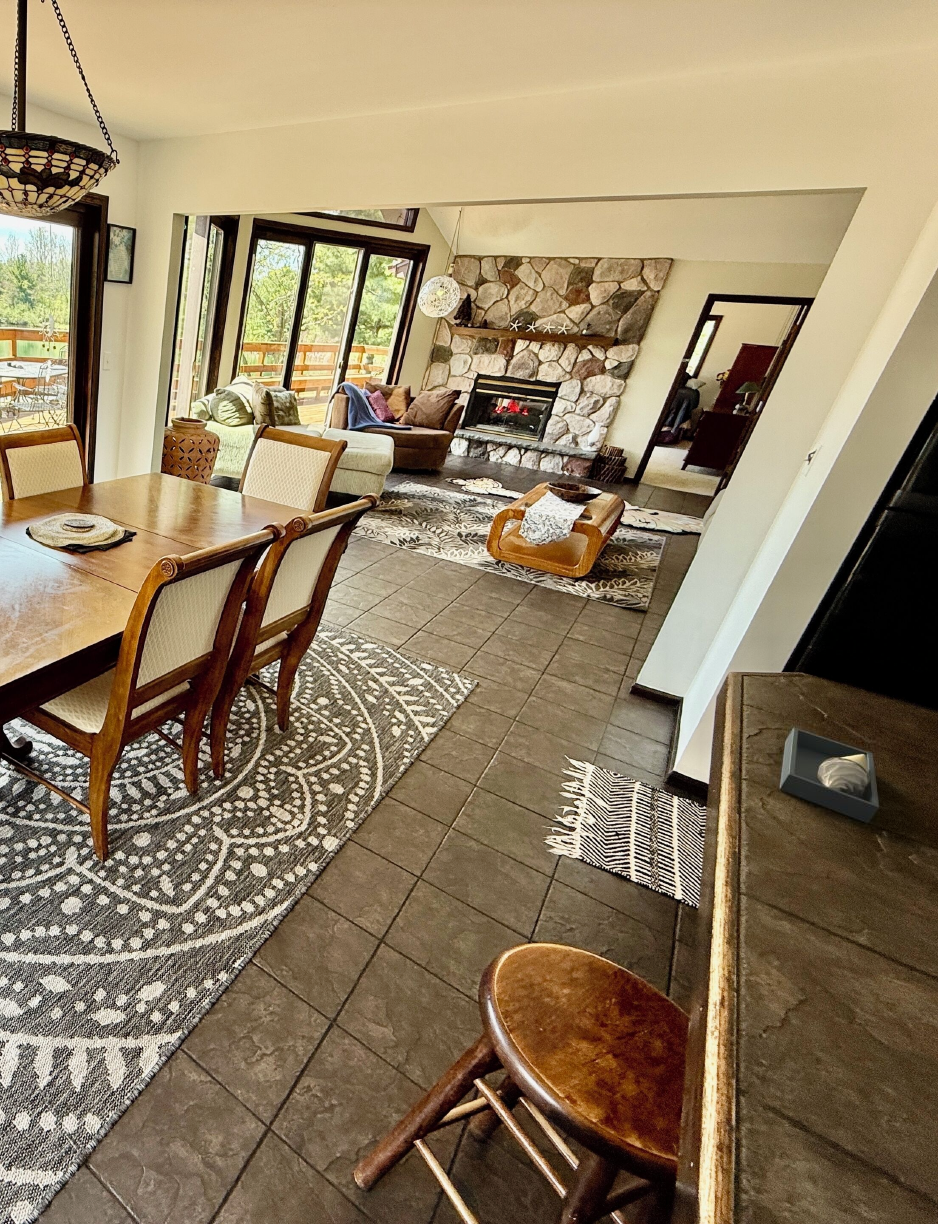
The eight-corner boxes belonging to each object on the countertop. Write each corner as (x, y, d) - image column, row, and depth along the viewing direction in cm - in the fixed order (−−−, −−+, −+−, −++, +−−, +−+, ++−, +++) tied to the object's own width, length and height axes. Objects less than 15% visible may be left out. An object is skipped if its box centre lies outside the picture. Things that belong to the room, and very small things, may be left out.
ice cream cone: (893, 749, 95) (858, 784, 89) (881, 777, 97) (846, 814, 91) (845, 734, 99) (808, 767, 93) (834, 761, 101) (797, 796, 95)
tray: (785, 741, 108) (793, 727, 107) (862, 768, 102) (872, 753, 101) (779, 789, 95) (788, 773, 94) (868, 823, 89) (879, 807, 88)
